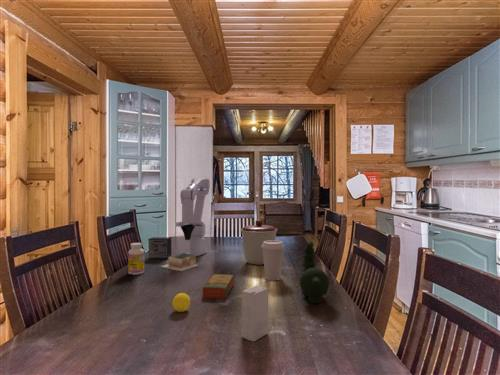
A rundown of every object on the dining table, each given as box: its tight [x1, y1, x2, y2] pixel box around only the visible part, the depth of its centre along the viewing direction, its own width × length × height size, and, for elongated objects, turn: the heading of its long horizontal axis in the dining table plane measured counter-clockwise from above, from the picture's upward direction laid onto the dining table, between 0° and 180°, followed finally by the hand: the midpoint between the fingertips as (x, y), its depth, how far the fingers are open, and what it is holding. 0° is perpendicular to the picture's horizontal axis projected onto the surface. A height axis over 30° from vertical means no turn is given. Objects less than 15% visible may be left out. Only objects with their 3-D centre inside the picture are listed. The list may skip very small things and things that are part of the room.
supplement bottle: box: [127, 242, 145, 276], centre depth 145 cm, size 7×7×13 cm
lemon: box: [171, 292, 191, 313], centre depth 102 cm, size 7×5×5 cm
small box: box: [147, 236, 173, 260], centre depth 174 cm, size 11×6×10 cm, turn 84°
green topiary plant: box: [299, 241, 330, 304], centre depth 115 cm, size 9×19×25 cm
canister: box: [240, 219, 278, 266], centre depth 163 cm, size 18×18×21 cm
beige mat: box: [160, 263, 199, 272], centre depth 155 cm, size 11×13×1 cm
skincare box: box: [241, 285, 269, 342], centre depth 85 cm, size 6×4×12 cm
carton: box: [202, 273, 234, 300], centre depth 121 cm, size 8×16×4 cm, turn 173°
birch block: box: [168, 253, 197, 268], centre depth 157 cm, size 4×8×10 cm
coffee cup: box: [261, 239, 285, 281], centre depth 136 cm, size 10×10×15 cm
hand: (187, 239), depth 168 cm, fingers closed
